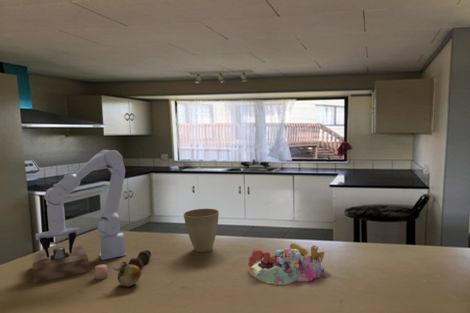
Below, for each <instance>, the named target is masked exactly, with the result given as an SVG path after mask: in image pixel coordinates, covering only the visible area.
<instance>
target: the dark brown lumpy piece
mask: <svg viewBox="0 0 470 313" xmlns="http://www.w3.org/2000/svg"><path fill="white" fill-rule="evenodd" d="M137 255H138V256H137V257H135V258H133V257H132V258H130V260H129V261H128V262H127V264H129V265H136V266H138V267H139V269H140V271H142V269H143V267H144V264H147V263H149V261H150V258H151V256H152V253H151V251H150V250H148V249H146V250H141V251H140V252H139V253H138V254H137Z"/></svg>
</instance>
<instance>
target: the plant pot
mask: <svg viewBox="0 0 470 313" xmlns="http://www.w3.org/2000/svg"><path fill="white" fill-rule="evenodd" d="M219 212H220V211H219V210H218V209H216V208H196V209H192V210H191V209H190V210H187V211H185V212H184V213H183V218H184V219H183V220H184V223H185V228H186V231H187V233H188V237H189V239H190V242H191V244H192V248H193V249H194V251H195V252H198V253H205V252H210V251H212V250H213V246H214V245H215V240H216V235H217V230H218V224H219V214H220V213H219Z"/></svg>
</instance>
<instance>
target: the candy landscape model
mask: <svg viewBox="0 0 470 313" xmlns="http://www.w3.org/2000/svg"><path fill="white" fill-rule="evenodd" d="M318 250H319V246H317V245H312V246H311V247H310V251H309V250H308V249H306V248H304V247H303V246H301V245H300V244H299V243H296V242H293V243H290V245H289V246H287V247H285V248H283V249H276V250H275V252H274V253H273V255H272V256H271V252H269V251H266V250H265V251H264V252H263V250H261V249H259V248H256V249H253V250H252V252H251V255H250V256H249V258H248V263H247V265H248V268H249V269H248V273H249V274H250V276H252V277H253V278H254V279H256V280H258V281H260V282H261V283H265V284H266V283H267V285H268V284H269V285H278V286H284V285H286V286H288V285H291V284H292V283H294V282H295V283H296V282H311V281H312V282H313V280H314V279H320V278H321V275H322V274H323V272H324V266H322V262H323V259H324V256H325V251H320V252H319V251H318Z"/></svg>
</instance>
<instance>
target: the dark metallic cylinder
mask: <svg viewBox="0 0 470 313" xmlns="http://www.w3.org/2000/svg"><path fill="white" fill-rule="evenodd" d="M65 249H66V247H64V246H59V247H56V248H54V249H52V251H53V254H54V260H55V259H61V258H66V256H65Z"/></svg>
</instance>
